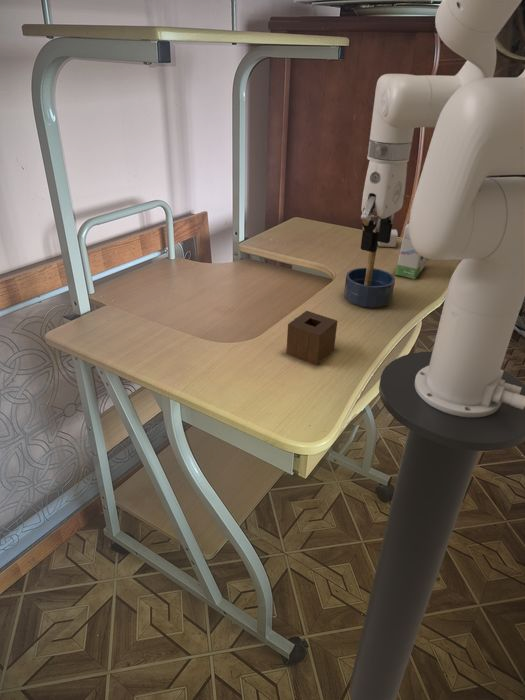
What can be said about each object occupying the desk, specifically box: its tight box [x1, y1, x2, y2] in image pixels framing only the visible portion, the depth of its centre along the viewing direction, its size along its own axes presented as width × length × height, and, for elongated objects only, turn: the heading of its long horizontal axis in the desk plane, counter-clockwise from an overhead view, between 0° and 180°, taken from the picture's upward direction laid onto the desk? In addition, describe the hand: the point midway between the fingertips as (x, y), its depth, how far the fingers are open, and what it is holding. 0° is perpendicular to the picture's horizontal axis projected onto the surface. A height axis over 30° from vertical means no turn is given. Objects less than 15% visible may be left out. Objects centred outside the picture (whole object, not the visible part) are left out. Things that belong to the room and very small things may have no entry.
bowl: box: [343, 267, 396, 309], centre depth 105 cm, size 10×10×5 cm
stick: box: [364, 221, 381, 286], centre depth 102 cm, size 1×1×16 cm
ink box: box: [395, 222, 427, 280], centre depth 117 cm, size 9×5×12 cm, turn 150°
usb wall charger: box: [377, 228, 399, 248], centre depth 134 cm, size 4×7×4 cm, turn 84°
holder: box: [285, 310, 338, 366], centre depth 86 cm, size 6×6×6 cm
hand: (375, 245), depth 100 cm, fingers open, 5 cm apart
